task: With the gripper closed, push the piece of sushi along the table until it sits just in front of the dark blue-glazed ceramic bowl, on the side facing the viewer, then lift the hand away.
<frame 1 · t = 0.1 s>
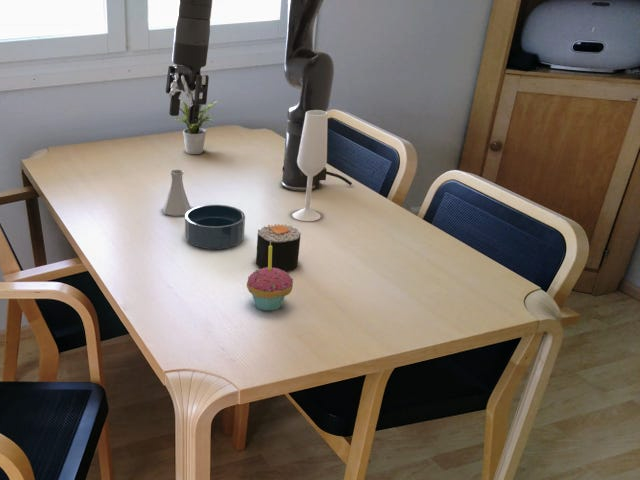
hand: (182, 119, 154), 22 cm above the table, tool pointing down, fingers open, 8 cm apart
sushi: (276, 265, 142), on the table
house plant: (196, 153, 206), on the table
flask: (177, 212, 168), on the table
cupcake: (268, 305, 128), on the table
champagne flute: (306, 216, 163), on the table
bowl: (214, 238, 153), on the table
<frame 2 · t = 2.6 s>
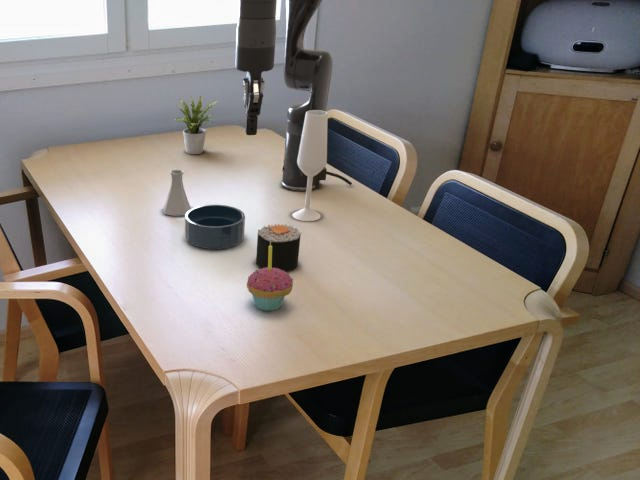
hand: (251, 134, 140), 23 cm above the table, tool pointing down, fingers closed
nothing on the table moved.
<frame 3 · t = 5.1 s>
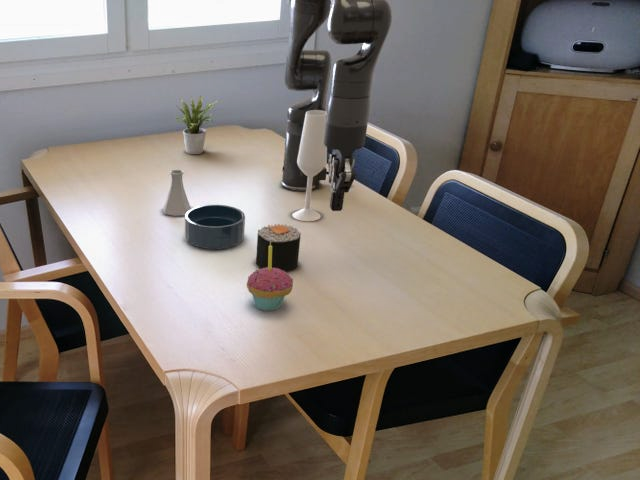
hand: (335, 209, 135), 12 cm above the table, tool pointing down, fingers closed
nothing on the table moved.
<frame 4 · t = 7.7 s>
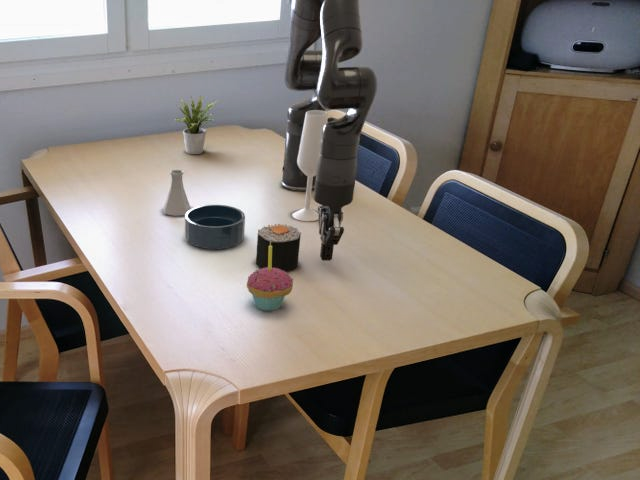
hand: (325, 259, 141), 1 cm above the table, tool pointing down, fingers closed
nothing on the table moved.
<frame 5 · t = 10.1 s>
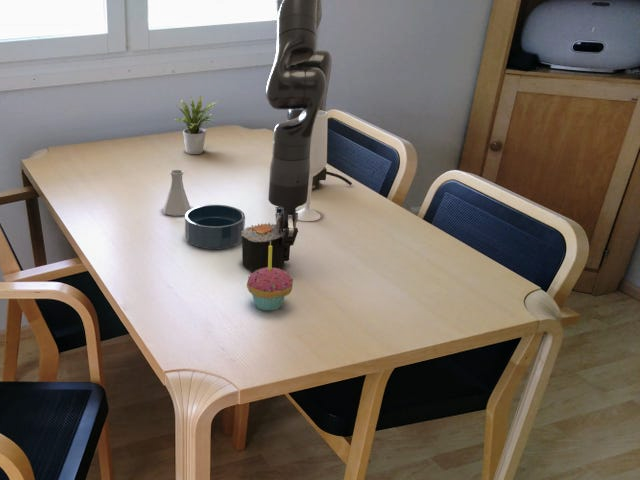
hand: (283, 259, 141), 1 cm above the table, tool pointing down, fingers closed
sushi: (263, 264, 141), on the table, touching gripper, hand
everything else where it was.
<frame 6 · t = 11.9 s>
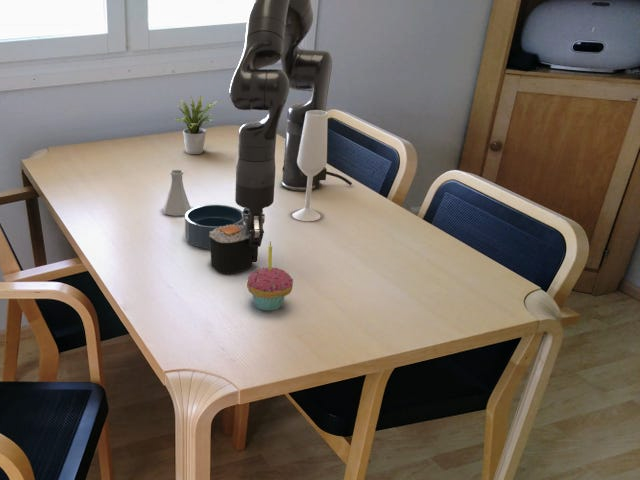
hand: (251, 260, 141), 1 cm above the table, tool pointing down, fingers closed
sushi: (231, 265, 141), on the table, touching gripper, hand
everything else where it was.
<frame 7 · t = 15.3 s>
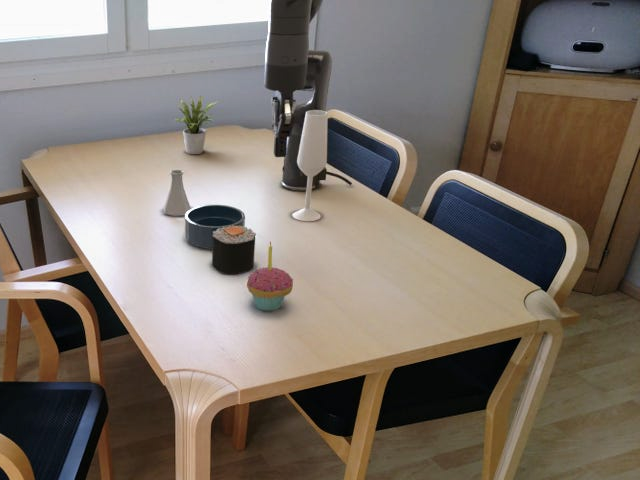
hand: (279, 155, 131), 22 cm above the table, tool pointing down, fingers closed
sushi: (232, 266, 142), on the table
everything else where it was.
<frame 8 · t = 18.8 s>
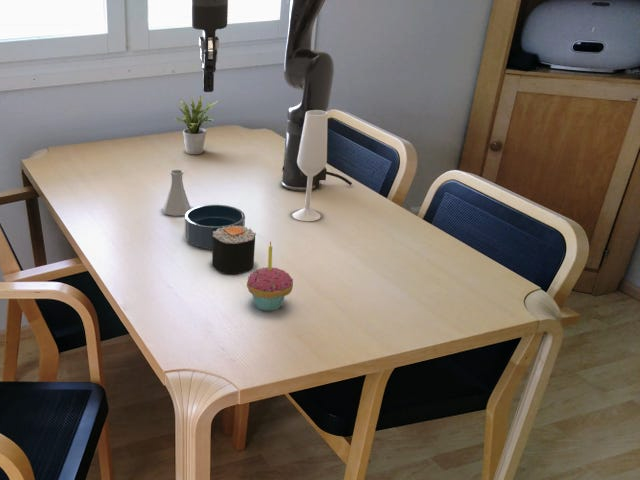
hand: (208, 91, 148), 29 cm above the table, tool pointing down, fingers closed
nothing on the table moved.
at the end: sushi inside the target area on the table beside the bowl (2.8 cm from its centre), on the table; sushi tilted 0°; sushi moved 9.2 cm from its start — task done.
